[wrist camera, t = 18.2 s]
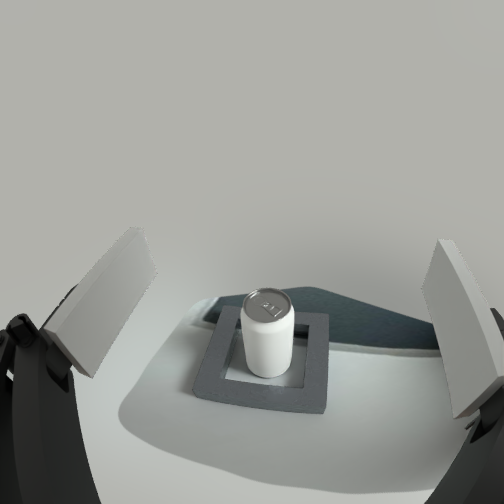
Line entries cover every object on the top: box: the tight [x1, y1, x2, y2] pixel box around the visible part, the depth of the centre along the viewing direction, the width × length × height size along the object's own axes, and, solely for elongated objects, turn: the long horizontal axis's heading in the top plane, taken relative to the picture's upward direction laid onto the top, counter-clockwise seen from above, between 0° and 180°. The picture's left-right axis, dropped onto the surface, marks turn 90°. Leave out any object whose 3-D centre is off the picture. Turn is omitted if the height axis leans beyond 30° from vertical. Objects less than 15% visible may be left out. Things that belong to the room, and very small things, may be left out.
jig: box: [192, 305, 329, 414], centre depth 38 cm, size 17×16×2 cm
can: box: [240, 288, 294, 378], centre depth 35 cm, size 6×6×12 cm
